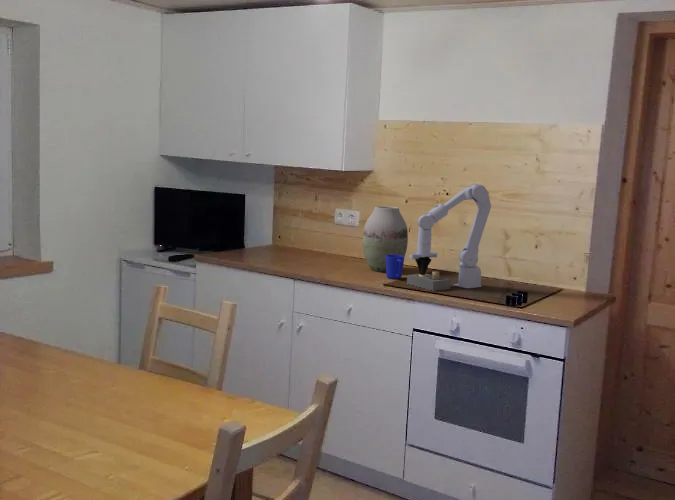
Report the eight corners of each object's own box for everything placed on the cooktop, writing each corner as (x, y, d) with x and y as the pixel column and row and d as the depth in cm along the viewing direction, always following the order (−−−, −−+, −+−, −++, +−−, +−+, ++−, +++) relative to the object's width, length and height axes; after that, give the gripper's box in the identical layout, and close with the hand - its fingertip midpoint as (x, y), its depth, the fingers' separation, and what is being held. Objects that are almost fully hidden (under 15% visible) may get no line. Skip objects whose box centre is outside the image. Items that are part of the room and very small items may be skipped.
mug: (391, 281, 318) (392, 258, 316) (382, 276, 329) (383, 254, 328) (408, 281, 320) (410, 258, 318) (399, 276, 331) (400, 254, 330)
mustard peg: (421, 283, 314) (422, 273, 314) (426, 284, 312) (427, 275, 311) (416, 283, 313) (417, 274, 312) (421, 284, 310) (422, 275, 310)
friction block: (423, 282, 318) (424, 273, 318) (450, 289, 306) (450, 279, 305) (406, 284, 312) (407, 275, 312) (432, 291, 300) (433, 281, 299)
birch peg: (435, 280, 308) (435, 271, 307) (440, 281, 305) (440, 272, 305) (430, 280, 306) (430, 271, 305) (435, 282, 303) (435, 272, 303)
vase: (395, 266, 360) (398, 205, 355) (413, 273, 340) (417, 209, 335) (354, 266, 353) (357, 204, 349) (370, 274, 333) (374, 209, 329)
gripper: (430, 241, 317) (428, 272, 319) (405, 242, 309) (403, 274, 311) (441, 243, 312) (439, 274, 314) (416, 245, 303) (414, 277, 305)
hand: (422, 274), depth 312 cm, fingers closed, pressing on mustard peg
